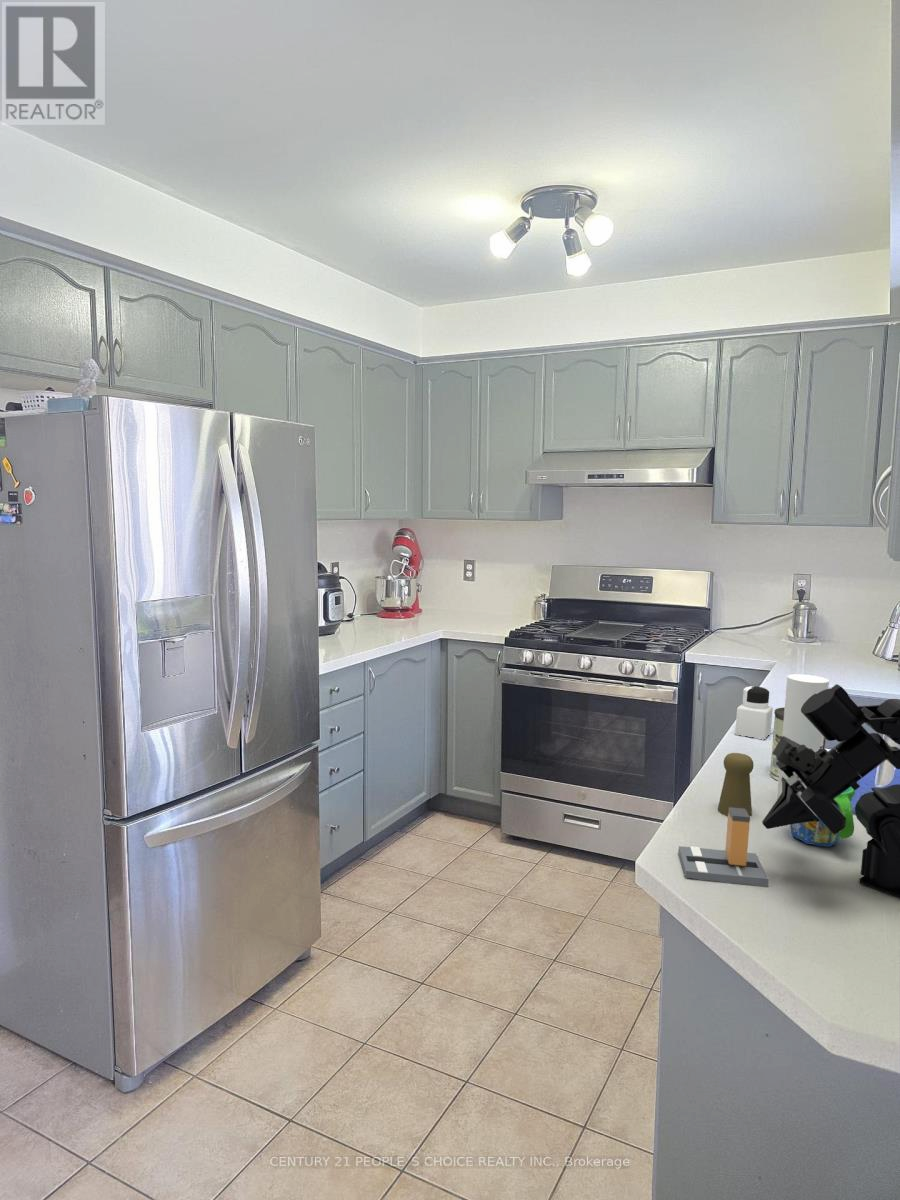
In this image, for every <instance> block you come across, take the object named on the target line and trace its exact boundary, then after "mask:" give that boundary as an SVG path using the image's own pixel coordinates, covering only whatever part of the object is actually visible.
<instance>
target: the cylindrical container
mask: <svg viewBox="0 0 900 1200" xmlns="http://www.w3.org/2000/svg"><path fill="white" fill-rule="evenodd" d="M829 685H830V680H829V679H828V678H825V677H823V676H818V675H814V674H813V675H812V674H802V673H801V674H799V673H798V674H797V673H796V674H794V673H793V674H788V675H787V676H786V686H785V688H786V689H785V698H784V707H785V709H784V721H783V733H782V736H784V737H787V738H788V739H790V740H792V741H794V742H796V743H798V744H800V745H805V746H806V747H807V748H809V749H810V748H811V749H812V750H813V751H814V752H817V751H818V750H819V749H823V741H824V736H823V735H822V734H821V733H820V732H819V731H818V730H817V729H816V728H815V727H814V725H813V724H812V723H811V722H810V721H809V720H808V719H807V718H806V717H805V716H804V715H803V713H802V712H801V708H802V706H803V704H804V703H805V702H806V701H807V700H808V699H809V698H810V697H811V696H812V695H814V694H815V693H816V694H818V693H819V692H821V691H823V690H826V689H829ZM782 777H783V778H784V779H785V780H786V779H787V777H788V776H787V775H786V774H785V773H784V772H783V771H781V770H780V768H779V780H777V793H776V801H777V800H778V798H779V797H780V795H781V793H782V780H781V779H782Z"/></svg>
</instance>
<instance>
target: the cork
mask: <svg viewBox="0 0 900 1200" xmlns="http://www.w3.org/2000/svg"><path fill="white" fill-rule="evenodd" d="M723 766H724V770H725V774H724V779H723V783H722V787H721V788H722V789H721V793H720V797H719V802H718V805H717V812H719V813H720V814H722V815H724V816H726V817H728V810H729V807H732V808H743V809H746V811H747V813H748V815H749V816H751V817H752V815H753V810H752V808H753V806H752V794H751V793H752V792H751V776H750V775H751V773H752V772H753V769H754V766H755V765H754V761H753V759H752V757H751V756H749V755H748V754H746V753H745V754H744V753H739V752H731V753H728V754H726V756H724V759H723Z"/></svg>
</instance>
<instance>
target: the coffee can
mask: <svg viewBox="0 0 900 1200" xmlns="http://www.w3.org/2000/svg"><path fill="white" fill-rule="evenodd" d="M784 709H785V706H784V707H778V708H776V709H774V722H773V723H774V724H773V733H772V734H773V735H772V746H771V747H772V748H771V759H770V761H771V762H770V769H769V770H770V772H769V775H770V777H771V778H772V779H773V780H775V779H776V780H775V781H778V780H779V767H778V766H777V764H776V762H778V760H777V759H776V755H774V754H773V753H772V752H773V751H774V749H775V748H776V746H777V744H778V743H779V741H780V739H781V738H782V733H783V721H784ZM825 747H826V738H825V737H824V741H823V749H824V748H825ZM825 749H826V748H825Z"/></svg>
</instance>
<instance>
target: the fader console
mask: <svg viewBox="0 0 900 1200" xmlns="http://www.w3.org/2000/svg"><path fill="white" fill-rule="evenodd" d="M677 851H678V852H677V853H678V857H679V860H680V865H681V867H682V868H681V869H682V871H683V875H684V878H685V879H686V878H693V879H692V880H696V879H701V880H700V881H706V880H710V881H709V882H716V881H718V882H719V881H720V882H719V883H726V882H728V884H738V885H747V886H748V885H749V886H758V887H769V883H770V882H769V881H770V879H769V877H768V874H767V873H766V871H765V869H764V867H763V865H762V863H761V861H760V859H759V857H758V855H757V853H756V852H755V853H754V852H747V860H746V866H742V865H740V866H738V865H735V866H731V865H730V864H729V863H728V860H727V858H726V856H725V849H724V850H723V849H714V848H713V849H712V848H702V847H700V846H692V845H690V846H683V845H682V846H681V845H679V846H678V850H677ZM718 882H717V883H718Z"/></svg>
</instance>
